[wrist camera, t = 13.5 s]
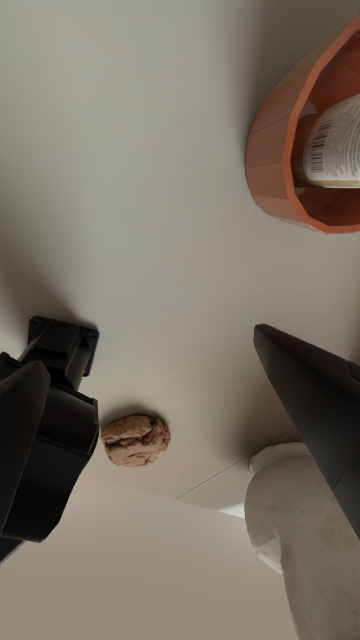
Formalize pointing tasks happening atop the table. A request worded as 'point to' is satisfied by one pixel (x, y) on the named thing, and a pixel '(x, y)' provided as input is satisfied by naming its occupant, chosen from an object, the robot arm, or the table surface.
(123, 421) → the cookie
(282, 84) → the bowl
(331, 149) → the sprinkles bottle
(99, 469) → the table surface
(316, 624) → the ceramic pitcher
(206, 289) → the table surface
